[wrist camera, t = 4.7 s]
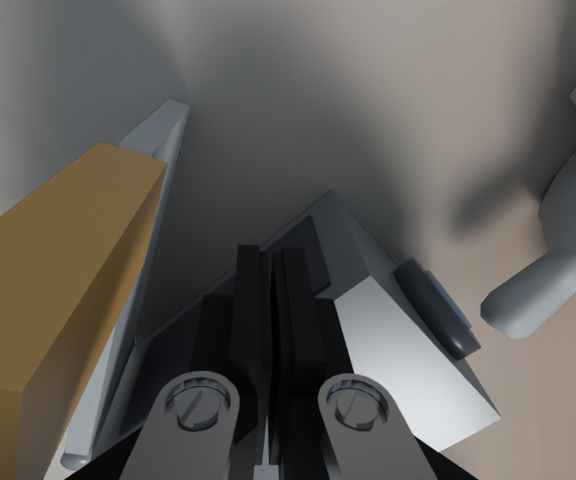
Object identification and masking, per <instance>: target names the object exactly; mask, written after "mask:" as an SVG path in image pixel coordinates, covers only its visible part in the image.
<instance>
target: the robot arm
mask: <svg viewBox="0 0 576 480" xmlns="http://www.w3.org/2000/svg"><path fill="white" fill-rule="evenodd" d="M267 419H268V453H269V465H278V472H279V480H478V479H477V478H475V477H474V476H472V475H471V474H469V473H468V472H467V471H465V470H464V469H462V468H461V467H459V466H458V465H456V464H455V463H453V462H452V461H451V460H449V459H448V458H446V457H445V456H443V455H442V454H440V453H439V452H437V451H436V450H435V449H433V448H432V447H430V446H429V445H427V444H426V443H424V442H423V441H422V440H420V439H419V438H417V437H416V436H414V435H413V433H412V431H411V430H410V428H409V426H408V424H407V422H406V420H405V419H404V417H403V415H402V413H401V411H400V409H399V408H398V406H397V404H396V402H395V400H394V399H393V397H392V396H391V395H390V393H389V392H388V391H387V389H385V388H384V387H383V386H382V385H381V384H379V383H378V382H376V381H374V380H372V379H370V378H369V377H366V376H362V375H359V374H355V373H354V370H353V366H352V363H351V359H350V356H349V352H348V348H347V345H346V341H345V338H344V334H343V331H342V327H341V324H340V320H339V317H338V313H337V310H336V306H335V303H334V300H333V299H332V298H314V296H313V291H312V286H311V281H310V277H309V272H308V267H307V263H306V258H305V253H304V249H303V248H299V247H282V248H281V252H273V259H272V270H271V281H270V289H269V270H268V252H267V251H260V247H259V245H239V244H238V255H237V267H236V279H235V292H234V295H228V294H204V296H203V301H202V306H201V311H200V316H199V321H198V327H197V332H196V337H195V342H194V347H193V352H192V357H191V363H190V368H189V373H185V374H183V375H181V376H179V377H176V378H174V379H172V380H171V381H170V382H169V383H168V384H167V385H165V386H164V387H163V388H162V390H161V391H160V393H159V394H158V396H157V398H156V400H155V402H154V404H153V406H152V409H151V411H150V413H149V415H148V417H147V419H146V422H145V424H144V425H143V426H142V427H140V428H139V429H137V430H136V431H134V432H133V433H132V434H130V435H129V436H127V437H126V438H124V439H123V440H121V441H120V442H118V443H117V444H115V445H114V446H113V447H111V448H110V449H108V450H107V451H105V452H104V453H102V454H101V455H99V456H98V457H97V458H95V459H94V460H92V461H91V462H89V463H88V464H86V465H85V466H83V467H82V468H80V469H79V470H78V471H76V472H75V473H73V474H72V475H70V476H69V477H67V478H66V479H64V480H253V477H254V466H256V465H262V460H263V451H264V441H265V432H266V422H267Z"/></svg>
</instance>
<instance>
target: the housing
mask: <svg viewBox="0 0 576 480" xmlns="http://www.w3.org/2000/svg"><path fill="white" fill-rule="evenodd" d="M282 247H299V248H303V249H304V253H305V258H306V263H307V267H308V272H309V277H310V281H311V286H312V291H313V296H314V298H332V299H333V300H334V303H335V306H336V310H337V313H338V317H339V320H340V324H341V327H342V331H343V334H344V338H345V341H346V345H347V348H348V352H349V356H350V359H351V363H352V366H353V370H354V373H355V374H359V375H362V376H366V377H369V378H370V379H372V380H374V381H376V382H378V383H379V384H381V385H382V386H383V387H384V388H385V389H387V391H388V392H389V393H390V395H391V396H392V397H393V399H394V400H395V402H396V404H397V406H398V408H399V409H400V411H401V413H402V415H403V417H404V419H405V420H406V422H407V424H408V426H409V428H410V430H411V431H412V433H413V435H414V436H416V437H417V438H419V439H420V440H422V441H423V442H424V443H426V444H427V445H429V446H430V447H432V448H433V449H435V450H436V451H437V452H440V451H442V450H444V449H446V448H448V447H450V446H451V445H453V444H455V443H457V442H459V441H461V440H463V439H465V438H466V437H468V436H470V435H472V434H474V433H476V432H478V431H479V430H481V429H483V428H485V427H487V426H489V425H491V424H493V423H494V422H496V421H498V420H500V419H502V417H501V416H500V414H499V412H498V411H497V409H496V408H495V406H494V404H493V403H492V401H491V400H490V398H489V396H488V395H487V393H486V392H485V390H484V388H483V387H482V385H481V384H480V382H479V380H478V379H477V377H476V376H475V374H474V372H473V371H472V369H471V368H470V366H469V365H468V363H467V361H466V360H465V357H466V356H468V355H470V354H471V353H473V352H475V351H476V350H478V349H480V348H481V346H480V344H479V342H478V341H477V339H476V338H475V336H474V335H473V333H472V332H471V330H470V328H471V327H472V326H471V324H470V323H469V321H468V320H467V318H466V317H465V315H464V314H463V313H462V311H461V310H460V309H459V307H458V306H457V305H456V303H455V302H454V301H453V299H452V298H451V297H450V295H449V294H448V293H447V292H446V290H445V289H444V288H443V286H442V285H441V284H440V283H439V281H438V280H437V279H436V278H435V277H434V275H433V274H432V273H431V272H430V271H429V270H428V271H425V270H424V269H423V268H422V267H421V265H420V264H419V263H418V262H417V261H416V260H415V259H414V258H413V257H412V258H411V259H409V260H408V261H407V262H405V263H404V264H402V265H401V266H399V267H398V266H397V265H396V264H395V263H394V262H393V260H392V259H391V258H390V257H389V256H388V255H387V254H386V252H385V251H384V250H383V249H382V248H381V247H380V245H379V244H378V243H377V242H376V241H375V240H374V238H373V237H372V236H371V235H370V234H369V233H368V232H367V230H366V229H365V228H364V227H363V226H362V225H361V223H360V222H359V221H358V220H357V219H356V218H355V216H354V215H353V214H352V213H351V212H350V211H349V210H348V208H347V207H346V206H345V205H344V204H343V203H342V201H341V200H340V199H339V198H338V197H337V196H336V194H335V193H334V192H333V191H332V190H330V191H329V192H328V193H327V194H325V195H324V196H323V197H322V198H320V199H319V200H318V201H317V202H315V203H314V204H313V205H312V206H310V207H309V208H308V209H307V210H305V211H304V212H303V213H302V214H300V215H299V216H298V217H297V218H295V219H294V220H293V221H292V222H290V223H289V224H288V225H287V226H285V227H284V228H283V229H282V230H280V231H279V232H278V233H277V234H275V235H274V236H273V237H272V238H270V239H269V240H268V241H267V242H265V243H264V244H263V245H262V246H260V251H267V252H268V270H269V289H270V281H271V270H272V259H273V252H281V248H282ZM236 267H237V266H235V267H234V268H233V269H232V270H230V271H229V272H228V273H227V274H225V275H224V276H223V277H222V278H220V279H219V280H218V281H217V282H215V283H214V284H213V285H212V286H210V287H209V288H208V289H207V290H205V291H204V292H203V293H202V294H200V295H199V296H198V297H197V298H195V299H194V300H193V301H192V302H190V303H189V304H188V305H187V306H185V307H184V308H183V309H182V310H180V311H179V312H178V313H177V314H175V315H174V316H173V317H172V318H170V319H169V320H168V321H167V322H165V323H164V324H163V325H162V326H160V327H159V328H158V329H157V330H155V331H154V332H153V333H152V334H150V335H149V336H148V337H147V338H145V339H144V340H143V341H142V342H140V343H139V344H138V345H137V346H135V347H134V348H133V349H132V352H131V355H130V357H129V360H128V362H127V365H126V368H125V370H124V373H123V376H122V378H121V381H120V383H119V386H118V389H117V391H116V394H115V397H114V399H113V402H112V405H111V407H110V410H109V412H108V415H107V418H106V420H105V423H104V426H103V428H102V431H101V434H100V436H99V439H98V441H97V444H96V447H95V449H94V452H93V455H92V457H91V460H90V462H91V461H92V460H94V459H95V458H97V457H98V456H99V455H101V454H102V453H104V452H105V451H107V450H108V449H110V448H111V447H113V446H114V445H115V444H117V443H118V442H120V441H121V440H123V439H124V438H126V437H127V436H129V435H130V434H132V433H133V432H134V431H136V430H137V429H139V428H140V427H142V426H143V425H144V424H145V422H146V419H147V417H148V415H149V413H150V411H151V409H152V406H153V404H154V402H155V400H156V398H157V396H158V394H159V393H160V391H161V390H162V388H163V387H164V386H165V385H167V384H168V383H169V382H170V381H171V380H172V379H174V378H176V377H179V376H181V375H183V374H185V373H189V368H190V363H191V357H192V352H193V347H194V342H195V337H196V332H197V327H198V321H199V316H200V311H201V306H202V301H203V296H204V294H228V295H234V292H235V279H236ZM253 480H279V472H278V465H269V453H268V419H267V422H266V432H265V441H264V451H263V460H262V465H256V466H254V477H253Z"/></svg>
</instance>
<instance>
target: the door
mask: <svg viewBox="0 0 576 480" xmlns="http://www.w3.org/2000/svg"><path fill="white" fill-rule="evenodd" d="M189 110H190V106H189V105H187V104H184V103H181V102H178V101H175V100H172V99H169V100H168V101H166V102H165V103H164V104H163V105H162V106H161V107H159V108H158V109H157V110H156V111H155V112H154V113H153V114H151V115H150V116H149V117H148V118H147V119H146V120H144V121H143V122H142V123H141V124H140V125H139V126H137V127H136V128H135V129H134V130H133V131H132V132H130V133H129V134H128V135H127V136H126V137H125V138H123V139H122V140H121V141H120V142H119V143H118V147H116V146H113V145H110V144H107V143H104V142H99V143H97V144H96V145H95V146H93V147H92V148H91V149H89V150H88V151H87V152H85V153H84V154H83V155H81V156H80V157H79V158H77V159H76V160H75V161H73V162H72V163H71V164H70V165H68V166H67V167H66V168H64V169H63V170H62V171H60V172H59V173H58V174H56V175H55V176H54V177H52V178H51V179H50V180H48V181H47V182H46V183H44V184H43V185H42V186H40V187H39V188H38V189H36V190H35V191H34V192H32V193H31V194H30V195H28V196H27V197H26V198H24V199H23V200H22V201H20V202H19V203H18V204H16V205H15V206H14V207H12V208H11V209H10V210H8V211H7V212H6V213H4V214H3V215H2V216H0V480H43V478H44V476H45V474H46V472H47V470H48V468H49V465H50V463H51V461H52V459H53V457H54V455H55V453H56V450H57V448H58V446H59V444H60V442H61V440H62V438H63V436H64V433H65V431H66V429H67V427H68V425H69V423H70V425H69V431H68V436H67V442H66V448H65V451H64V453H63V455H62V458H61V460H60V463H61V465H62V466H63V467H65V468H66V469H69V470H73V471H78V470H79V469H80V468H82V467H83V466H85V465H86V464H88V463H89V462H90V460H91V457H92V455H93V452H94V449H95V447H96V444H97V441H98V439H99V436H100V434H101V431H102V428H103V426H104V423H105V420H106V418H107V415H108V412H109V410H110V407H111V405H112V402H113V399H114V397H115V394H116V391H117V389H118V386H119V383H120V381H121V378H122V376H123V373H124V370H125V368H126V365H127V362H128V360H129V357H130V355H131V352H132V349H133V347H134V344H135V340H134V336H135V332H136V328H137V323H138V319H139V315H140V311H141V307H142V303H143V299H144V295H145V291H146V287H147V282H148V278H149V274H150V270H151V266H152V262H153V258H154V254H155V250H156V246H157V242H158V237H159V233H160V229H161V225H162V221H163V217H164V213H165V209H166V205H167V201H168V196H169V192H170V188H171V184H172V180H173V176H174V172H175V168H176V164H177V160H178V155H179V151H180V147H181V143H182V139H183V135H184V131H185V127H186V123H187V119H188V115H189Z"/></svg>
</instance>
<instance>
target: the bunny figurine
mask: <svg viewBox="0 0 576 480" xmlns="http://www.w3.org/2000/svg"><path fill="white" fill-rule="evenodd" d="M569 98H570V99H571V101H572V102H573V103H574V105H575V106H576V88H575V89H574V90H573V92H572V93H571V94H570V96H569ZM538 216H539V219H540V222H541V225H542V229H543V232H544V235H545V238H546V242H547V245H548V248H549V252H547V253H546V254H545V255H543V256H542V257H540V258H539V259H537V260H536V261H534V262H533V263H532V264H530V265H529V266H527V267H526V268H524V269H523V270H522V271H520V272H519V273H517V274H516V275H514V276H513V277H512V278H510V279H509V280H507V281H506V282H504V283H503V284H502V285H500V286H499V287H497V288H496V289H494V290H493V291H492V292H490V293H489V295H488V296H487V297H486V298H485V300H484V301H483V302H482V303H481V313H480V316H481V317H482V318H483V319H484V320H485V321H486V322H487V323H488V324H489V325H490V326H492V327H493V328H495V329H496V330H498V331H499V332H501V333H502V334H504V335H505V336H507V337H508V338H510V339H519V338H523V337H526V336H528V335H529V334H531V333H532V332H534V331H535V330H537V329H538V328H539V327H540V326H541V325H542V324H543V323H544V322H545V321H546V320H547V319H548V318H549V317H550V316H551V315H552V314H553V313H554V312H555V311H556V310H557V309H558V308H559V307H560V306H561V305H562V304H563V303H564V302H565V301H566V300H567V299H568V298H569V297H571V296H572V295H573V294H574V293H575V292H576V152H574V153H573V154H572V155H571V157H570V158H569V159H568V161H567V162H566V163H565V164H564V166H563V167H562V168H561V169H560V171H559V172H558V173H557V175H556V177H555V178H554V180H553V182H552V183H551V185H550V187H549V188H548V190H547V192H546V194H545V196H544V199H543V201H542V204H541V206H540V209H539V211H538Z"/></svg>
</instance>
